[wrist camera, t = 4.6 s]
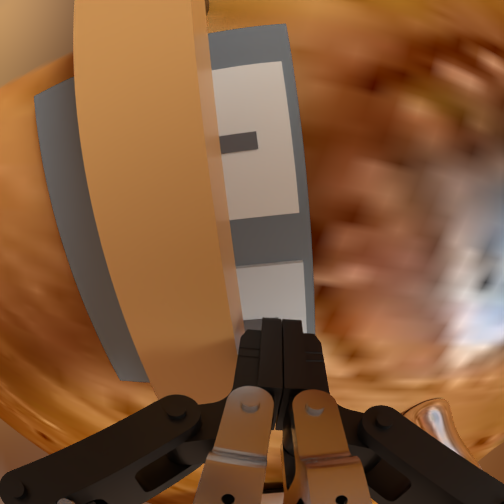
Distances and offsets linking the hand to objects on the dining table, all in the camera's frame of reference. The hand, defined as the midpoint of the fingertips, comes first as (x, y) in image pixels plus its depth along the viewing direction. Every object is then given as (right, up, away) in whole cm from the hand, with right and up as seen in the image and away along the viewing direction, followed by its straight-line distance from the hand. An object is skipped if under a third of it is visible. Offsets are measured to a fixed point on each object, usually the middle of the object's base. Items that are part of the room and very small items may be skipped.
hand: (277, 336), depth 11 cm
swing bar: (-4, +5, 0) cm, 6 cm away
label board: (-5, +4, +5) cm, 8 cm away
